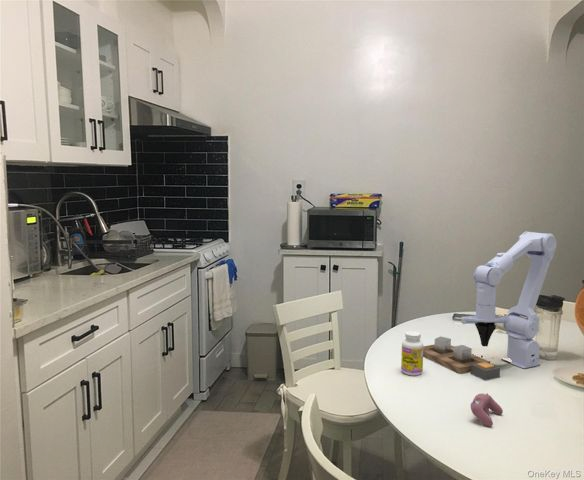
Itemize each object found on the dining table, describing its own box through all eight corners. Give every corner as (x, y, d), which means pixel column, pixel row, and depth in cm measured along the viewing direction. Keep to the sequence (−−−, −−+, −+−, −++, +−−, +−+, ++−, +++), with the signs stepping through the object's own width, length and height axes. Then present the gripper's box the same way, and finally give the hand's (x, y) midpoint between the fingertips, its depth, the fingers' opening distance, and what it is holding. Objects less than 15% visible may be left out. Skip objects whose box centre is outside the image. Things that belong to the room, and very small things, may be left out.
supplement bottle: (398, 374, 161) (399, 334, 159) (404, 367, 167) (405, 329, 165) (419, 377, 158) (420, 337, 156) (424, 370, 164) (425, 331, 162)
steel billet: (450, 355, 177) (450, 338, 177) (444, 358, 175) (445, 341, 174) (440, 352, 180) (440, 336, 180) (434, 355, 177) (434, 338, 177)
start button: (493, 374, 158) (494, 365, 158) (485, 376, 157) (485, 367, 156) (485, 371, 162) (485, 361, 161) (476, 372, 160) (476, 363, 160)
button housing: (499, 377, 158) (500, 367, 157) (485, 380, 155) (485, 370, 155) (485, 370, 163) (485, 361, 163) (470, 373, 161) (471, 364, 160)
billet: (471, 366, 167) (471, 348, 167) (461, 367, 166) (462, 350, 165) (462, 362, 171) (462, 344, 170) (453, 363, 169) (453, 346, 169)
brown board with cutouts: (490, 367, 166) (490, 361, 165) (459, 374, 160) (460, 368, 160) (444, 347, 185) (444, 342, 185) (416, 353, 180) (416, 347, 180)
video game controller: (488, 415, 136) (477, 390, 137) (504, 412, 133) (493, 387, 134) (476, 430, 128) (464, 403, 129) (493, 427, 125) (481, 399, 126)
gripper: (504, 300, 164) (502, 341, 166) (458, 300, 164) (457, 341, 166) (513, 306, 157) (511, 348, 159) (465, 306, 157) (464, 348, 159)
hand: (484, 345), depth 162 cm, fingers closed
